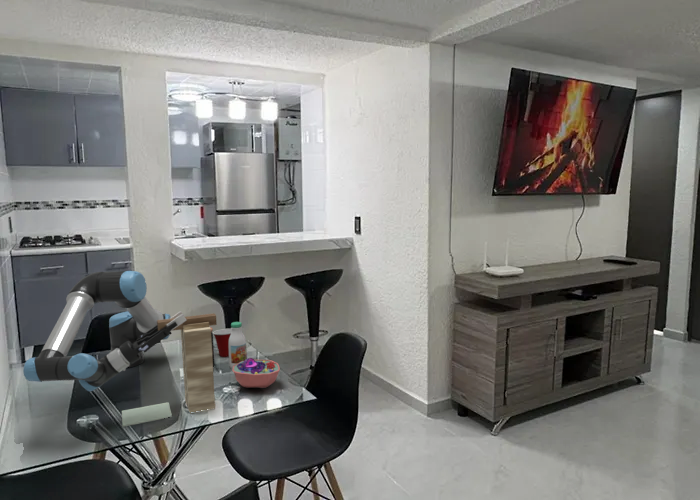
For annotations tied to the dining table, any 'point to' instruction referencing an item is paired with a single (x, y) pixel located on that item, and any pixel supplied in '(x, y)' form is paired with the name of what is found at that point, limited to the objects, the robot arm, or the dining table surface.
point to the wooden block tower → (198, 366)
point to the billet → (190, 321)
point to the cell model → (256, 373)
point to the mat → (146, 414)
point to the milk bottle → (237, 345)
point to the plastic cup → (223, 341)
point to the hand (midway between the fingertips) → (183, 315)
